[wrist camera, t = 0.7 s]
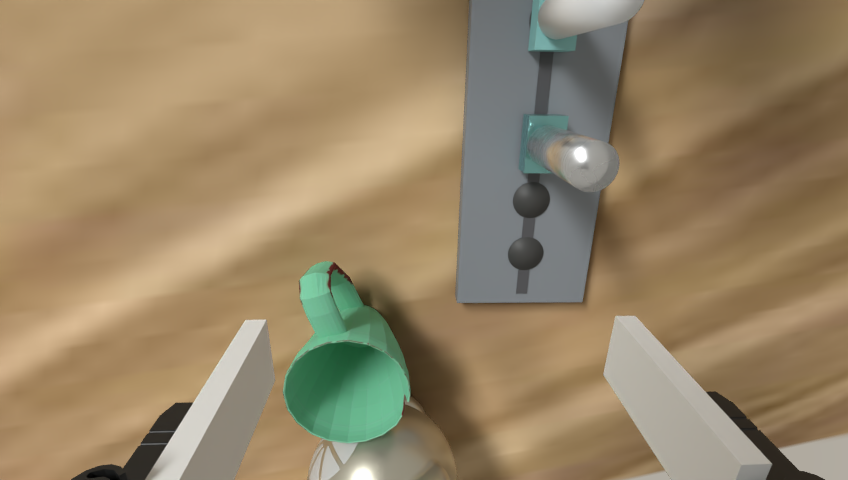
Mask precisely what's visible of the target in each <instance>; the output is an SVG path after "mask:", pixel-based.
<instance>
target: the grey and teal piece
mask: <svg viewBox="0 0 848 480" xmlns="http://www.w3.org/2000/svg"><path fill="white" fill-rule="evenodd" d="M643 2H644V0H469V19H468V40H467V61H466V82H465V103H464V124H463V145H462V166H461V188H460V209H459V230H458V251H457V272H456V293H455V296H456V300H457V303H518V302H583V296H584V289H585V283H586V277H587V271H588V265H589V259H590V253H591V246H592V240H593V234H594V228H595V222H596V216H597V210H598V203H599V197H600V191H601V190H600V191H597V192H584V191H581V190H579V189H577V188H576V187H574V186H572V185H571V184H569V183H568V182H566V181H564V180H563V179H561V178H560V177H558V176H556V175H555V174H553V173H523V172H522V171H521V170H519V169H518V168H519V158H520V147H521V136H522V126H523V115H524V114H561V115H566V116H569V118H568V126H567V131H571V132H574V133H577V134H580V135H584V136H587V137H590V138H593V139H597V140H600V141H603V142H606V143H608V142H609V136H610V130H611V124H612V117H613V111H614V105H615V99H616V93H617V87H618V81H619V74H620V68H621V62H622V56H623V50H624V44H625V38H626V31H627V25H628V20H629V19H631V18H632V17H633V16H634V15H635V14H636V13H637V12H638V11H639V10H640V8H641V6H642V5H643Z"/></svg>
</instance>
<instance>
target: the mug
mask: <svg viewBox="0 0 848 480" xmlns="http://www.w3.org/2000/svg"><path fill="white" fill-rule="evenodd" d="M299 290H300V300H301V303H302V305H303V308H304V310H305V313H306V315H307V318H308V320H309V321H310V323H311V325H312V327H313V329H314V331H315V333H314V335H313V336H312V337H311V338H310V340H309V341H308V342H307V343H306V344H305V346H304V347H303V348H302V349H301V350H300V351H299V352H298V354H297V355H296V357H295V359H294V361H293V362H292V364H291V366H290V368H289V369H288V371H287V373H286V376H285V381H284V389H283V395H284V399H285V403H286V407H287V410H288V411H289V412H290V414H291V415H292V417H293V418H294V420H295V421H296V423H298V424H299V425H300V426H301V427H303V428H304V429H305V430H307V431H308V432H309V433H311V434H313V435H315V436H318V437H320V438H322V439H325V440H327V441H333V442H340V443H356V442H366V441H369V440H371V439H374V438H377V437H379V436H382V435H384V434H385V433H387V432H388V431H389V430H391V429H392V428H393V427H395V426H396V425H397V424H398V423H399V421H400V420H401V418H402V416H403V413H404V409H405V397H406V399H407V402H409V401H410V397H411V389H410V381H409V374H408V370H407V367H406V363H405V360H404V356H403V354H402V351H401V349H400V346H399V344H398V342H397V340H396V338H395V337H394V335H393V333H392V331H391V329H390V327H389V325H388V324H387V322H386V321H385V320H384V318H383V317H382V316H381V315H380V314H379V313H378V312H377V311H376V310H375V309H374V308H372V307H370V306H367V305H363V303H362V301H361V299H360V297H359V295H358V293H357V291H356V289H355V287H354V285H353V283H352V281H351V279H350V277H349V276H348V275H347V274H346V273H345V272H344V271H343V270H342V269H340V268H339V267H338V266H337V265H336V264H335V263H334V262H327V261H325V262H321V263H317V264H316V265H314V266H312V267H311V268H310V269H309V270H308V271H307V272H306V273H305V274H304V275H303V277H302V278H301V279H300V280H299ZM337 307H338V308H337ZM338 309H339V310H340V312H339V310H338Z"/></svg>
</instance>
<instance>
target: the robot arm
mask: <svg viewBox="0 0 848 480" xmlns="http://www.w3.org/2000/svg"><path fill="white" fill-rule="evenodd" d="M603 375H604V376H605V378H606V380H607V381H608V383H609V384H610V386H611V387H612V389H613V390H614V392H615V394H616V395H617V397H618V398H619V400H620V401H621V403H622V404H623V406H624V407H625V409H626V411H627V412H628V414H629V415H630V417H631V418H632V420H633V421H634V423H635V424H636V426H637V428H638V429H639V431H640V432H641V434H642V435H643V437H644V438H645V440H646V442H647V443H648V445H649V446H650V448H651V449H652V451H653V452H654V454H655V455H656V457H657V459H658V460H659V462H660V463H661V465H662V466H663V468H664V469H665V471H666V473H667V474H668V476H669V477H670V479H671V480H825V479H823V478H821V477H819V476H817V475H814V474H810V473H807V472H804V471H799V470H798V469H797V468H796V467H795V466H794V465H793V464H792V463H791V462H790V461H789V460H788V459H787V458H786V457H785V456H784V455H783V454H782V453H781V452H780V450H779V449H778V448H777V447H776V446H775V445H774V444H773V443H772V442H771V441H770V440H769V439H768V438H767V437H766V436H765V435H764V434H763V433H762V432H761V431H758V430H757V427H756V426H755V425H754V424H753V423H752V422H751V421H750V420H749V419H747V418H746V416H745V415H744V414H743V413H742V412H741V411H740V410H739V409H738V408H737V406H736V405H735V404H734V403H732V402H731V401H729V400H728V399H726V398H725V397H723V396H721V395H720V394H718V393H717V392H705V391H704V390H703V389H702V388H701V386H700V385H699V384H698V383H697V382H696V381H695V380H694V379H693V378H692V377H691V376H690V375H689V374H688V372H687V371H686V370H685V369H684V368H683V367H682V366H681V365H680V364H679V363H678V362H677V361H676V359H675V358H674V357H673V356H672V355H671V354H670V353H669V352H668V351H667V350H666V349H665V348H664V346H663V345H662V344H661V343H660V342H659V341H658V340H657V339H656V338H655V337H654V336H653V335H652V334H651V332H650V331H649V330H648V329H647V328H646V327H645V326H644V325H643V324H642V323H641V322H640V321H639V319H638V318H637V317H636V316H615V321H614V326H613V330H612V335H611V340H610V345H609V350H608V354H607V359H606V364H605V369H604V374H603ZM274 382H275V375H274V368H273V361H272V354H271V347H270V340H269V333H268V326H267V320H245V321H244V323H243V325H242V326H241V328H240V329H239V331H238V333H237V334H236V336H235V337H234V339H233V341H232V342H231V344H230V345H229V347H228V349H227V350H226V352H225V353H224V355H223V357H222V358H221V360H220V361H219V363H218V364H217V366H216V368H215V369H214V371H213V372H212V374H211V376H210V377H209V379H208V380H207V382H206V384H205V385H204V387H203V388H202V390H201V392H200V393H199V395H198V396H197V398H196V399H195V401H194V403H175V404H174V405H173V406H171V407H170V408H169V409H168V410H166V411H165V412H164V413H163V414H162V415H160V416H159V418H158V419H157V421H156V422H155V423H154V425H153V426H152V428H151V429H150V432H149V434H147V435H146V436H145V438H144V439H143V441H142V442H141V445H140V446H138V448H137V449H136V451H135V452H134V453H133V455H132V456H131V458H130V459H129V461H128V462H127V463H126V465H125V466H124V468H123V469H122V468H121V467H120V466H116V465H112V464H110V465H101V466H97V467H95V468H92V469H89V470H86V471H84V472H83V473H81V474H79V475H78V476H76V477H74V478H73V479H71V480H234V479H235V476H236V474H237V471H238V469H239V467H240V464H241V462H242V459H243V457H244V454H245V452H246V450H247V447H248V445H249V442H250V440H251V437H252V435H253V433H254V430H255V428H256V425H257V423H258V421H259V418H260V416H261V413H262V411H263V408H264V406H265V404H266V401H267V399H268V396H269V394H270V391H271V389H272V387H273V384H274Z"/></svg>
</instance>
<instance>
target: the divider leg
mask: <svg viewBox="0 0 848 480" xmlns="http://www.w3.org/2000/svg"><path fill="white" fill-rule="evenodd" d="M568 118H569V116H566V115H561V114H524V115H523V126H522V136H521V147H520V158H519V168H518V169H519V170H521V171H522V172H523V173H553V174H555V175H556V176H558V177H560V178H561V179H563V180H564V181H566V182H568V183H569V184H571V185H572V186H574V187H576V188H577V189H579V190H581V191H584V192H597V191H600V190H602V189H604V188H605V187H607V186H608V185H609V184H610V183H611V182H612V181H613V180H614V178H615V177H616V175H617V172H618V169H619V157H618V154H617V152H616V150H615V149H614V148H613V147H612V146H611V145H610V144H608V143H606V142H603V141H600V140H597V139H593V138H590V137H587V136H584V135H580V134H577V133H574V132H571V131H567V126H568Z"/></svg>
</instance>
